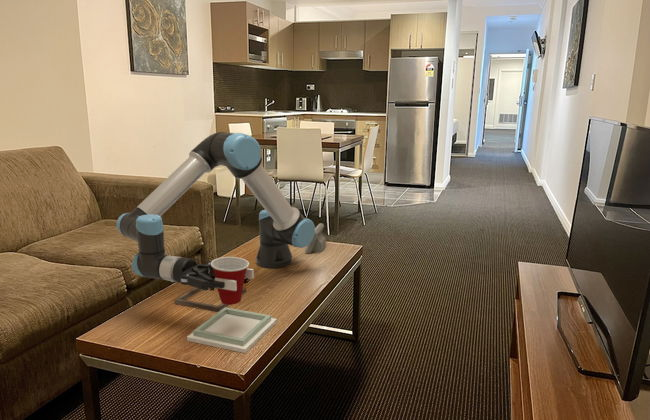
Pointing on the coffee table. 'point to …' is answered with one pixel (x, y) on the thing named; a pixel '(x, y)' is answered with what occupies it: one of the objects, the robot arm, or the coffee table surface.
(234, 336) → the base plate
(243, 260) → the plastic cup
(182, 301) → the holder frame
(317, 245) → the grey irregular lump
